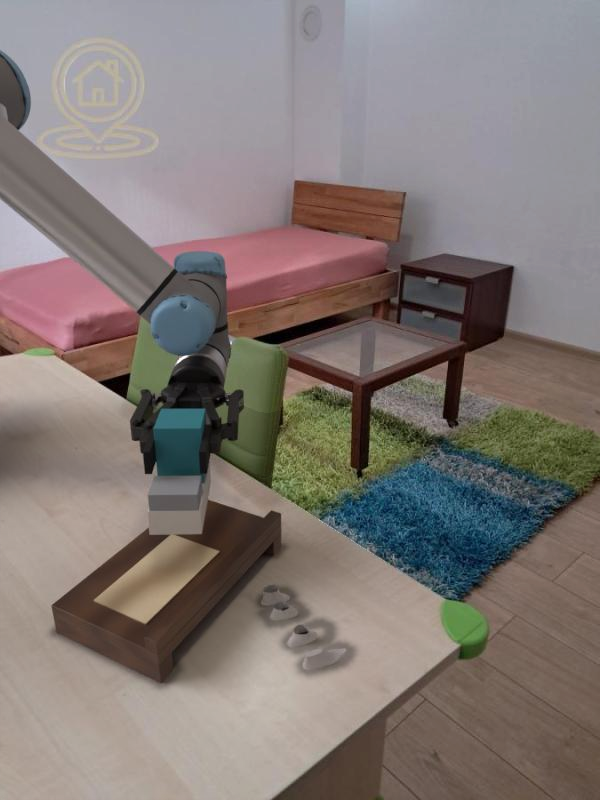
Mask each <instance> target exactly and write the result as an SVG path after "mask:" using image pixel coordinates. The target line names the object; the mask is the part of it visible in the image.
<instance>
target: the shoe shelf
mask: <svg viewBox="0 0 600 800" xmlns="http://www.w3.org/2000/svg"><path fill="white" fill-rule="evenodd" d="M281 548H282V513H281V512H278V511H275V510H270V511H268V513H267V514H265V516H264V517H263V516H260V515H257V514H253V513H250V512H247V511H246V510H245V511H244V510H241V509H239V508H235V507H232V506H229V505H227V504H223V503H220V502H217V501H214V500H211V499H208V502H207V507H206V513H205V519H204V525H203V530H202V534H173V535H150V534H149V527H148V528H146V529H145V530H144V531H143V532H141V533H140V534H138V535H137V536H136V537H135V538H134V539H132V540H131V541H129V543H128V544H126V545H124V546H123V547H122V548H121V549H119V550H118V551H117V552H116V553H115V554H113V555H112V556H111V557H110V558H109V559H107V560H106V561H104V562H103V563H102V564H101V565H100V566H98V567H97V568H96V569H95V570H93V571H92V572H91V573H90V574H88V575H87V576H86V577H85V578H83V579H82V580H81V581H80V582H79V583H77V584H76V585H74V587H72V588H71V589H70V590H68V591H67V592H66V593H65V594H63V595H61V597H60V598H58V599H57V600H55V601H54V603H52V604H51V605H50V606H51V612H52V618H53V622H54V627H55V631H56V633H57V634H59V635H61V636H63V637H65V638H67V639H69V640H71V641H73V642H75V643H77V644H79V645H81V646H83V647H85V648H87V649H89V650H92V651H94V652H96V653H97V654H99V655H101V656H104V657H106V658H108V659H110V660H112V661H114V662H116V663H118V664H119V665H122V666H124V667H126V668H129V669H130V670H132V671H135V672H136V673H138V674H141V675H142V676H145V677H146V678H148V679H151V680H152V681H155V682H157V683H159V684H162V683H163V682H164V681H165V679H167V677H168V676H169V675H170V674H171V673H172V672H173V671H174V661H173V659H174V658H173V652H174V651H175V650H176V649H177V647H179V645H180V644H181V643H182V642H183V641H184V640H185V639H186V638H187V637H188V636H189V634H191V632H192V631H193V630H194V629H195V628H196V627H197V626H198V625H199V623H200V622H202V620H203V619H204V618H205V617H206V616H207V615H208V614H209V613H210V612H211V610H212V609H214V607H215V606H216V605H217V604H218V603H219V602H220V601H221V599H222V598H224V597H225V595H226V594H227V593H228V592H229V591H230V590H231V588H232V587H234V585H235V584H236V583H237V582H238V581H239V580H240V579H241V578H242V577H243V576H244V574H245V573H246V572H247V571H248V570H249V569H250V568H251V567H252V566H253V565H254V564H255V563H256V561H257V560H258V559H259V558H261V556H262V555H263V554H267V555H269V556H272V557H274V556H275V555H276V554H277V553H278V552H280V550H281Z"/></svg>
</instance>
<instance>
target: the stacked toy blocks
mask: <svg viewBox="0 0 600 800" xmlns="http://www.w3.org/2000/svg"><path fill="white" fill-rule="evenodd" d="M205 425H206V409H161V411H160V413H159V416H158V418H157V421H156V423H155V426H154V428H153V430H154V441H155V453H156V463H155V466H156V475H154V476H153V479H152V481H151V485H150V487H149V490H148V494H147V501H148V509H147V522H148V528H149V534H150V535H173V534H202V530H203V525H204V519H205V513H206V507H207V502H208V500H209V497H210V489H211V484H212V477H211V461H210V460H209V465H208V471H207V474H200V464H199V449H200V444H201V439H202V435H203V431H204V426H205Z"/></svg>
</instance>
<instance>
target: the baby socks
mask: <svg viewBox="0 0 600 800" xmlns="http://www.w3.org/2000/svg"><path fill="white" fill-rule="evenodd" d="M262 592H263V593H262V594H263V595H262V598H261V600H260V605H262V606H273V609H272V611H271V613H270V615H269V619H270V620H272V621H286V620H289V619H292V618H295V617H296V616H298V614H299V611H298V610H297V609H296V608H294V607H291V606H290V604H289V602H287V601H290V599H291V596H290V595H289V594H287V593H283V592H281V590H280V589H279V585H276V584H268V585H267V586H263V588H262ZM301 633H302V634H301ZM303 633H304V634H303ZM317 636H318V633H317V631H315V630H310V628H309V627H308V625H305V624H297V625H296V626H295V627H294V628H293V629H292V634H291V635H290V637H289V639H288V640H287V642H286V645H287V647H289V648H291V649H293V648H297V647H302V646H306V645H308V644H310V643H312V642H314V641H315V640H316V639H317ZM346 652H347V648H345V647H343V648H333V649H328V650H325V649H323V648H315V649H313V650H310V651H308V652H306V653H305V654H304V660H303V662H302V668H303V670H304V671H309V672H310V671H314V670H318V669H321V668H324V667H327V666H330V665H333V664H334V663H336V662H338V660H339V659H340V656H341V654H344V653H346Z"/></svg>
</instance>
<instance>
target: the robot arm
mask: <svg viewBox="0 0 600 800" xmlns="http://www.w3.org/2000/svg"><path fill="white" fill-rule="evenodd" d="M31 99H32V98H31V91H30V87H29V84H28V82H27V79H26V77H25V75H24V73H23V71H22V70H21V68H20V67H19V66H18V64H17V63H16V62H15V60H14V59H12V57H11V56H9V55H8V54H6V53H5V52H4V51H3V50H1V49H0V200H1V201H2V202H3V203H4V204H6V205H7V206H8V207H9V208H11V210H13V211H14V212H15V213H16V214H17V215H19V216H20V217H21V218H22V219H24V220H25V221H26V222H27V223H29V224H30V225H31V226H32V227H33V228H35V229H36V230H37V231H38V232H39V233H41V235H42V236H44V237H45V238H47V240H49V241H50V242H51V243H52V244H54V245H55V246H56V247H57V248H59V249H60V250H61V251H62V252H63V253H64V254H65V255H67V256H68V257H69V258H70V259H71V260H73V261H74V262H75V263H76V264H77V265H79V266H80V267H81V268H82V269H84V270H85V272H87V273H89V274H90V275H91V276H92V277H93V278H94V279H95V280H97V282H99V283H100V284H101V285H103V286H104V287H105V288H106V289H108V291H110V292H111V293H112V294H114V295H115V296H116V297H117V298H119V300H121V301H122V302H123V303H125V304H126V305H127V306H128V307H129V308H130V309H132V310H133V311H134V312H135V313H137V314H138V315H139V316H140V317H141V318H143V320H145V321H146V323H148V324H149V326H150V327H149V328H150V332H151V336H152V338H153V339H154V342H155V343H156V345H157V346H158V347H159V348H160V349H161V350H162V351H164V352H166V353H168V354H170V355H173V356H177V358H176V361H175V363H174V365H173V368H172V371H171V373H170V376H169V379H168V381H167V385H166V386H165V387H164V388H163V389H161V391H160V392H158V393H156V392H151V390H150V389H147V388H144V389H141V390H140V401H139V402H138V404H137V406H136V408H135V410H134V412H133V414H132V415H131V418H130V420H129V427H130V436H131V441H133V442H138V443H139V452H140V454H142V457H143V458H142V459H143V468H144V475H153V472H154V469H155V466H156V453H155V441H154V430H153V428H154V426H155V423H156V421H157V418H158V416H159V413H160V411H161V409H206V425H205V426H204V431H203V435H202V439H201V444H200V449H199V464H200V474H207V471H208V465H209V461H210V460H211V454H219V453H220V452H221V450H222V449H221V448H222V443H223V440H228V441H229V442H236V441H238V439H239V425H240V424H239V423H240V414H241V412H242V411H244V409H245V401H244V400H245V397H244V396H245V393H244V390H243V389H240V388H239V389H235V390H233V392H228V393H226V390H225V383H226V378H227V372H228V371H227V370H228V367H229V362H230V359H231V356H232V355H231V354H232V348H231V345H232V344H231V340H230V336H229V323H228V294H227V293H228V292H227V291H228V289H227V279H228V274H227V269H226V260H225V258H224V256H223V255H222V254H220V253H218V252H215V251H208V250H193V251H191V250H190V251H185V252H182V253H179V254H177V255H176V256H175V257H174V259H173V265H172V264H171V263H170V262H169V261H168V260H166V259H165V258H164V257H163V256H162V255H161V254H160V253H158V252H157V251H156V250H155V249H154V248H153V247H152V246H151V245H150V244H148V243H147V242H146V241H145V240H143V238H141V236H139V235H138V234H137V233H136V232H135V231H134V230H132V228H130V227H129V226H128V225H127V224H126V223H125V222H123V221H122V220H121V219H120V217H117V215H115V214H114V213H113V212H112V211H111V210H110V209H108V208H107V206H105V205H104V204H103V203H102V202H101V201H99V200H98V198H96V197H95V196H94V195H93V194H91V193H90V192H89V191H88V190H87V189H86V188H85V187H84V186H83V185H81V184H80V183H79V182H77V180H76V179H75V178H74V177H72V176H71V175H70V174H69V173H68V172H66V171H65V170H64V168H62V167H61V166H59V164H57V163H56V162H55V161H54V160H53V159H52V158H51V157H49V156H48V155H47V154H46V153H45V152H44V151H42V149H41V148H39V147H38V146H37V145H36V144H35V143H34V142H33V141H31V140H30V139H29V138H28V137H27V136H26V135H25V134H23V133H22V132H21V131H20V130H21V129H22V128H23V127H24V126H25V124H26V122H27V121H28V120H29V116H30V114H31V113H30V112H31V108H32V100H31ZM161 403H162V405H161V406H160V407H159V408H158V409H157V407H158V406H159V404H161ZM224 404H225V406H226V407H227V417H226V422H225V423H223V422H222V416H219V414H218V411H217V408H220V407H221V406H224Z"/></svg>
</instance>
